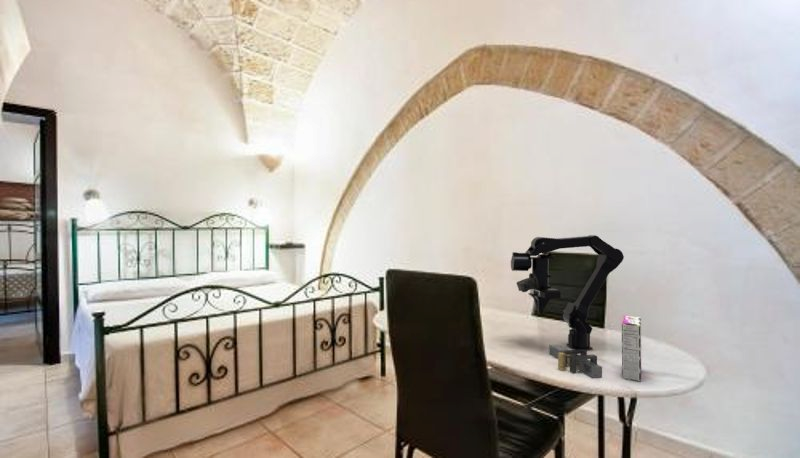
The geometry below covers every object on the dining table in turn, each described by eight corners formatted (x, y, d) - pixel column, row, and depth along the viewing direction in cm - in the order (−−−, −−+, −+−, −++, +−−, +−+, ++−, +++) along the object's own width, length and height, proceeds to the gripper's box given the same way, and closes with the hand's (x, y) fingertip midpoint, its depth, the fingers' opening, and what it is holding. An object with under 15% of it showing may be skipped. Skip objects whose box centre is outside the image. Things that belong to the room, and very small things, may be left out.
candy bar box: (622, 366, 123) (622, 314, 123) (641, 370, 121) (641, 316, 120) (620, 378, 114) (621, 322, 114) (641, 382, 111) (641, 324, 111)
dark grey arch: (593, 369, 121) (593, 354, 121) (597, 371, 119) (597, 356, 119) (569, 371, 120) (569, 355, 119) (572, 373, 118) (572, 357, 118)
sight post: (568, 368, 122) (568, 352, 122) (571, 369, 121) (571, 353, 121) (558, 368, 122) (558, 352, 122) (560, 370, 120) (561, 354, 120)
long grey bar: (549, 354, 136) (549, 344, 136) (557, 353, 136) (557, 344, 136) (592, 378, 114) (592, 367, 114) (602, 377, 115) (602, 366, 115)
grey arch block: (583, 364, 126) (583, 349, 126) (586, 365, 124) (586, 350, 124) (560, 365, 124) (560, 350, 124) (563, 367, 123) (563, 352, 123)
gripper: (508, 268, 152) (508, 308, 152) (532, 274, 133) (531, 320, 134) (535, 268, 154) (534, 308, 154) (562, 274, 135) (562, 319, 135)
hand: (539, 313), depth 144 cm, fingers closed
